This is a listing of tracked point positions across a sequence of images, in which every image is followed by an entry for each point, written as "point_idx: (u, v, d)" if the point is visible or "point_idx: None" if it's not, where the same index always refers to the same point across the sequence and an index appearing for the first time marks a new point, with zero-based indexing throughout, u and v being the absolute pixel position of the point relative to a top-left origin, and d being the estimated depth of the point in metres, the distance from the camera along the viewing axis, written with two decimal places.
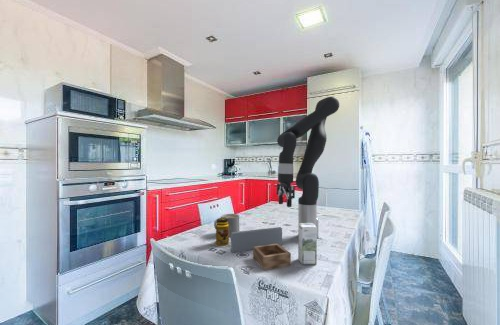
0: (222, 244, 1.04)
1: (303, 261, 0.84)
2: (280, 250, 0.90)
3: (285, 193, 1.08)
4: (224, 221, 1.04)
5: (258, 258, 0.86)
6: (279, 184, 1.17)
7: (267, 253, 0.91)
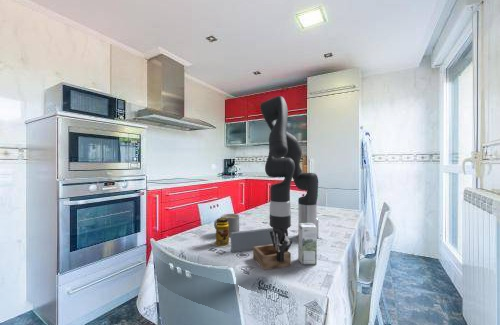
0: (222, 244, 1.04)
1: (303, 261, 0.84)
2: None
3: (277, 244, 0.79)
4: (224, 221, 1.04)
5: (258, 258, 0.86)
6: (272, 231, 0.85)
7: (267, 253, 0.92)
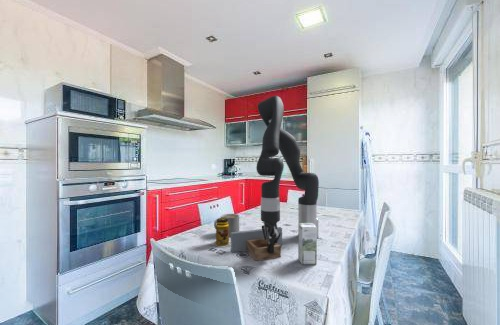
0: (222, 244, 1.04)
1: (303, 261, 0.84)
2: None
3: (267, 237, 0.87)
4: (224, 221, 1.04)
5: (250, 250, 0.93)
6: (264, 225, 0.93)
7: (260, 246, 0.99)
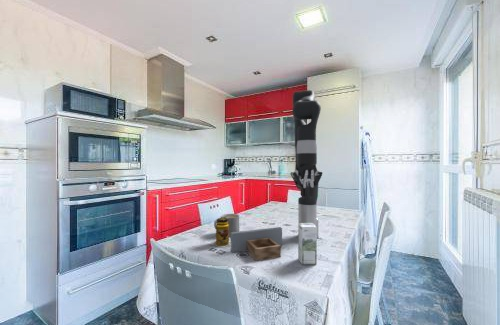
0: (222, 244, 1.04)
1: (303, 261, 0.84)
2: (271, 243, 0.97)
3: None
4: (224, 221, 1.04)
5: (250, 250, 0.93)
6: None
7: (260, 246, 0.99)
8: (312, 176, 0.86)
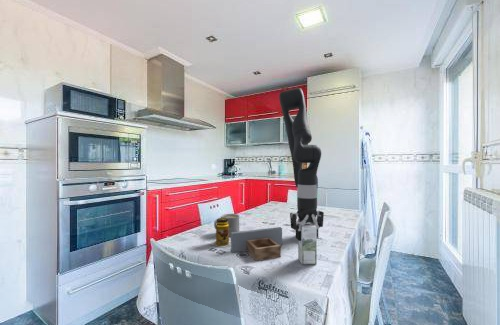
0: (222, 244, 1.04)
1: (303, 261, 0.84)
2: (271, 243, 0.97)
3: None
4: (224, 221, 1.04)
5: (250, 250, 0.93)
6: None
7: (260, 246, 0.99)
8: (314, 219, 0.86)
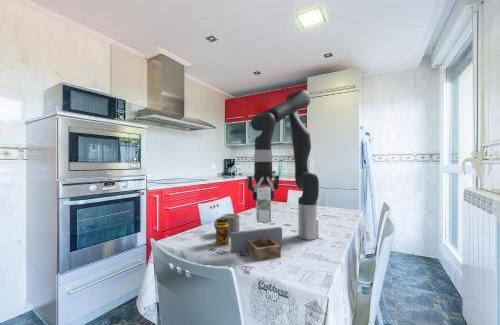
0: (222, 244, 1.04)
1: (258, 219, 0.92)
2: (271, 243, 0.97)
3: None
4: (224, 221, 1.04)
5: (250, 250, 0.93)
6: (274, 176, 0.97)
7: (260, 246, 0.99)
8: (269, 182, 0.94)
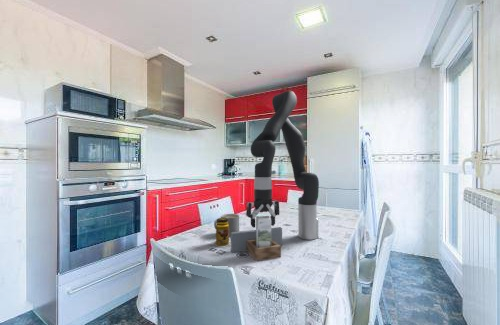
0: (222, 244, 1.04)
1: None
2: (271, 244, 0.97)
3: None
4: (224, 221, 1.04)
5: (251, 250, 0.93)
6: None
7: None
8: (270, 208, 0.94)
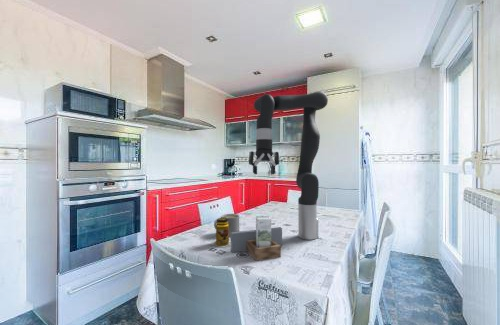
0: (222, 244, 1.04)
1: None
2: (271, 243, 0.97)
3: None
4: (224, 221, 1.04)
5: (250, 250, 0.93)
6: None
7: None
8: (270, 158, 1.03)
